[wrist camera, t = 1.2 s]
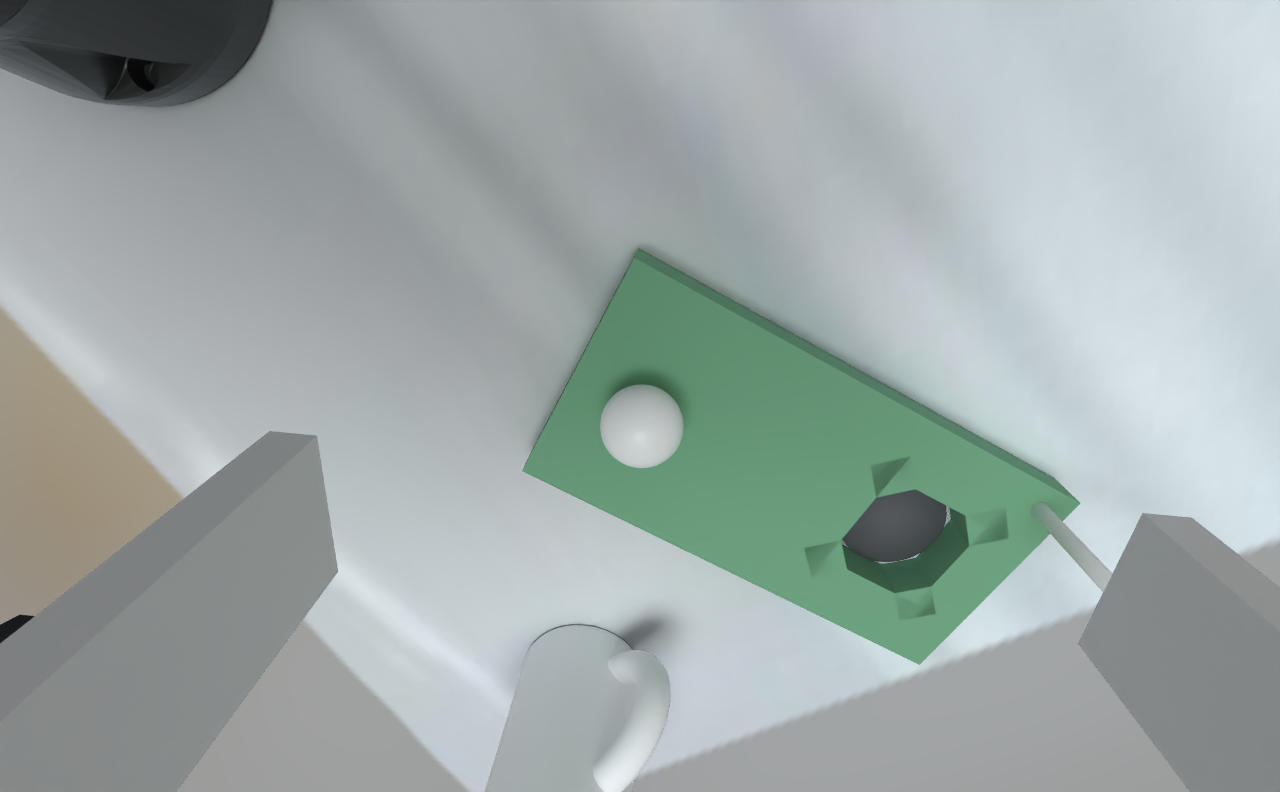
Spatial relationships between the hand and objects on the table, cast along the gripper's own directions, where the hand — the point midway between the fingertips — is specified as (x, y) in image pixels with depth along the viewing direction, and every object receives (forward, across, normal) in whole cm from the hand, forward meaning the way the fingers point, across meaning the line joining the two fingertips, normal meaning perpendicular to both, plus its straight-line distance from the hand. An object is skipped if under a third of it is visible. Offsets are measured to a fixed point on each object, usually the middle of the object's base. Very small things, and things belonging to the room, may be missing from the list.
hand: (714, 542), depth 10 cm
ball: (+18, -2, -7) cm, 20 cm away
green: (+22, +8, -12) cm, 27 cm away
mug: (+22, -3, -27) cm, 35 cm away
